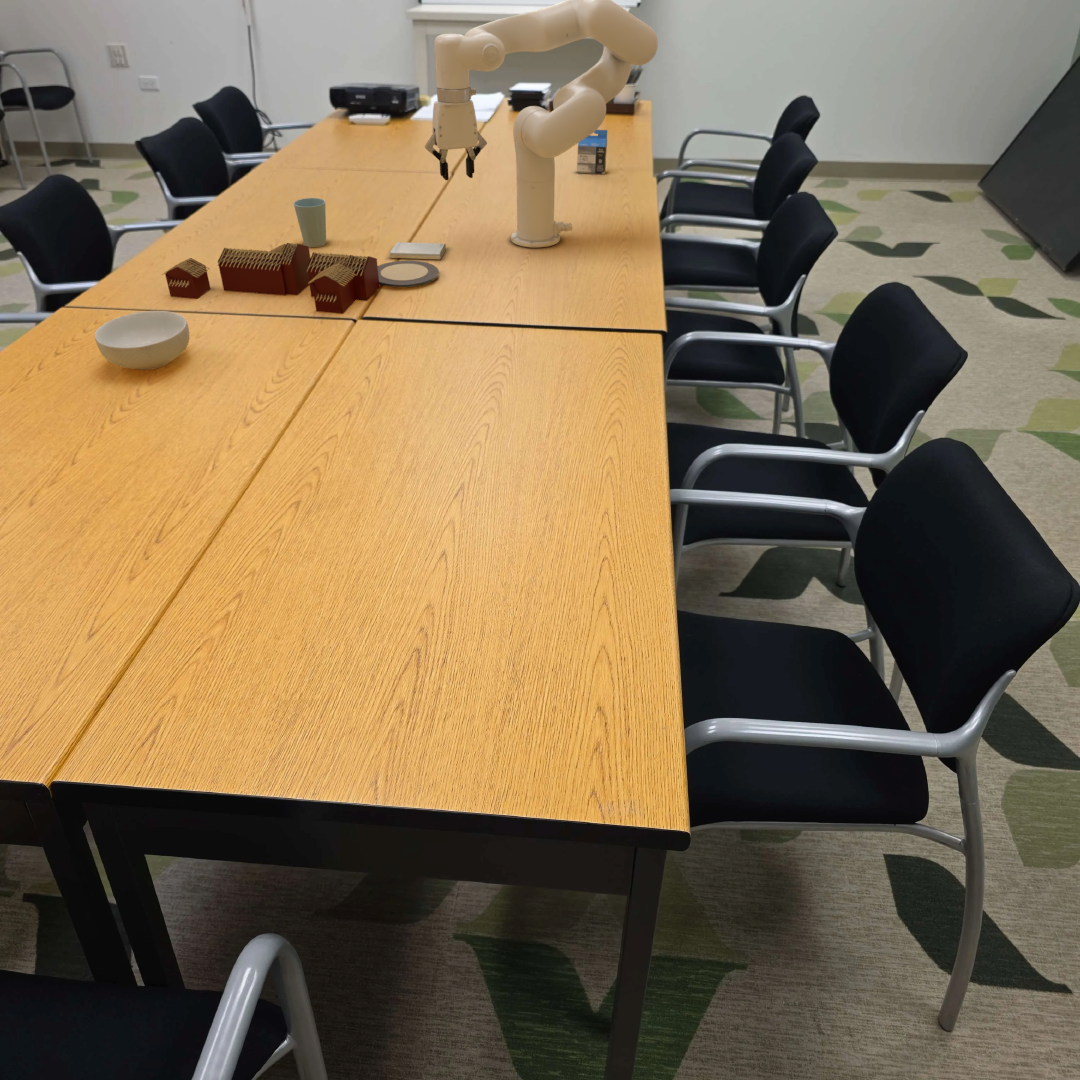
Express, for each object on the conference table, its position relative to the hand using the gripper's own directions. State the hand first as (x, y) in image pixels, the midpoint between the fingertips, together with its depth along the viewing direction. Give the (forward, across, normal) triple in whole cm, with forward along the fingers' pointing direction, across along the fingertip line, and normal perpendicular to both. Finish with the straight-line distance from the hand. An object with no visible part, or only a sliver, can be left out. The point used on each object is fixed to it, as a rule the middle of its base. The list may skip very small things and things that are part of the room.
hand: (457, 176), depth 221 cm
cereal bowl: (+18, +75, +43) cm, 88 cm away
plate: (+17, +18, +15) cm, 29 cm away
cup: (+18, +34, -16) cm, 42 cm away
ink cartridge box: (+18, -59, -56) cm, 83 cm away
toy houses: (+18, +48, +14) cm, 53 cm away
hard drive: (+18, +11, 0) cm, 21 cm away
